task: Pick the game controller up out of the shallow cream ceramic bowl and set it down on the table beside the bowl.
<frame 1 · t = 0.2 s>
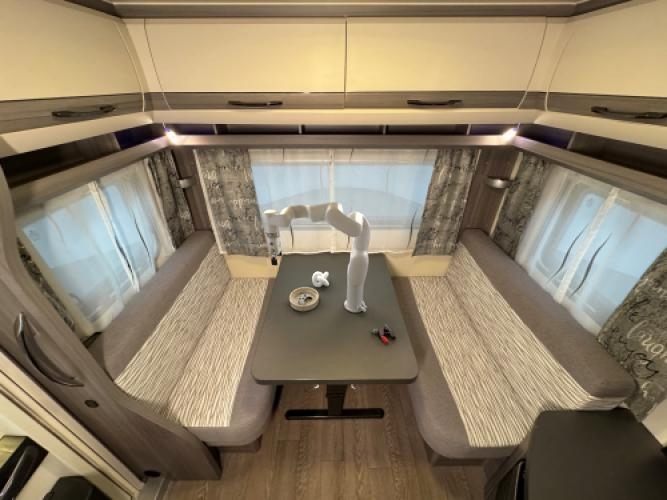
hand: (277, 260, 146), 31 cm above the table, tool pointing down, fingers open, 9 cm apart
game controller: (304, 301, 162), resting on bowl
toy gun: (383, 337, 137), on the table
bowl: (304, 301, 162), on the table
white knot sculpture: (322, 284, 177), on the table
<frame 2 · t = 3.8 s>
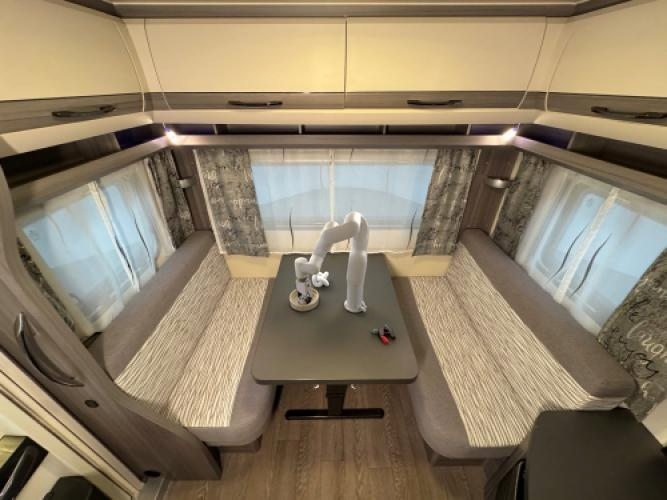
hand: (304, 300, 161), 1 cm above the table, tool pointing down, fingers closed on game controller, 7 cm apart
game controller: (304, 301, 162), resting on bowl, touching gripper
everything else where it was.
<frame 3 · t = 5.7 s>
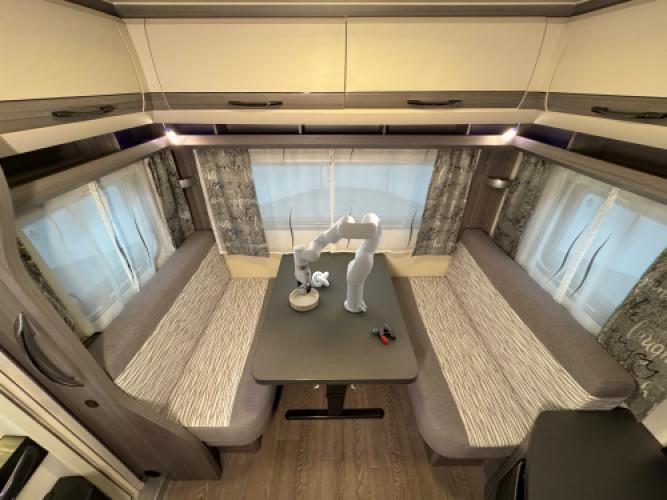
hand: (304, 289, 157), 10 cm above the table, tool pointing down, fingers closed on game controller, 7 cm apart
game controller: (304, 290, 157), point 9 cm above the table, touching gripper
everything else where it was.
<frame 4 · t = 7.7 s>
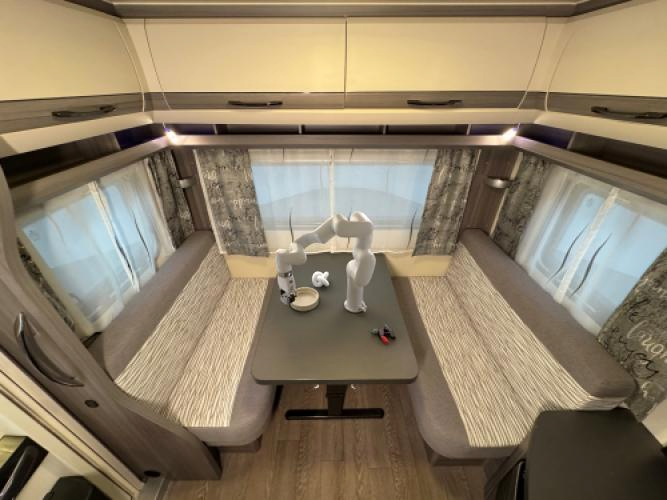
hand: (287, 298, 141), 16 cm above the table, tool pointing down, fingers closed on game controller, 7 cm apart
game controller: (288, 299, 141), point 15 cm above the table, touching gripper
everything else where it was.
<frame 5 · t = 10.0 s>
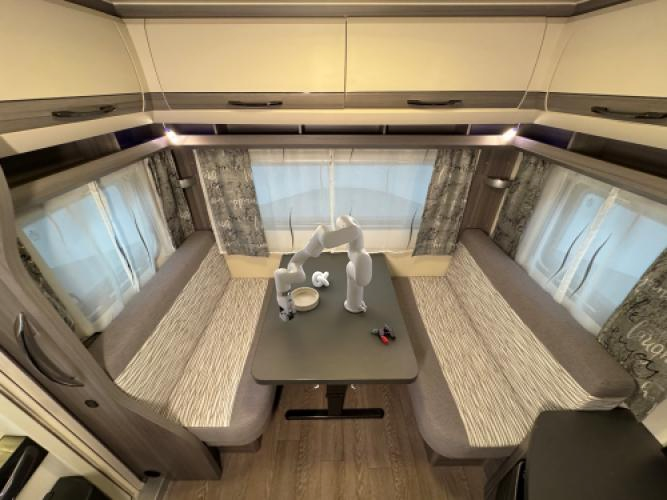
hand: (287, 315, 144), 6 cm above the table, tool pointing down, fingers closed on game controller, 7 cm apart
game controller: (287, 316, 144), point 5 cm above the table, touching gripper
everything else where it was.
when the fingers open (1 cm above the table, at t = 11.8 s): game controller stays where it is, on the table.
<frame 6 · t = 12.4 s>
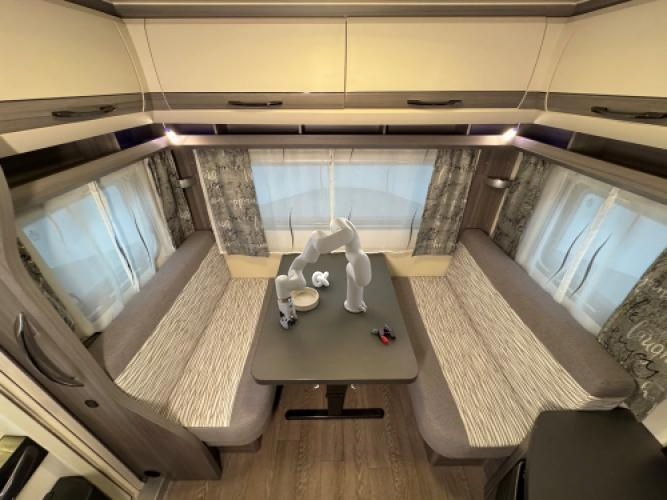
hand: (287, 320, 145), 2 cm above the table, tool pointing down, fingers open, 9 cm apart
game controller: (288, 322, 146), on the table
everything else where it was.
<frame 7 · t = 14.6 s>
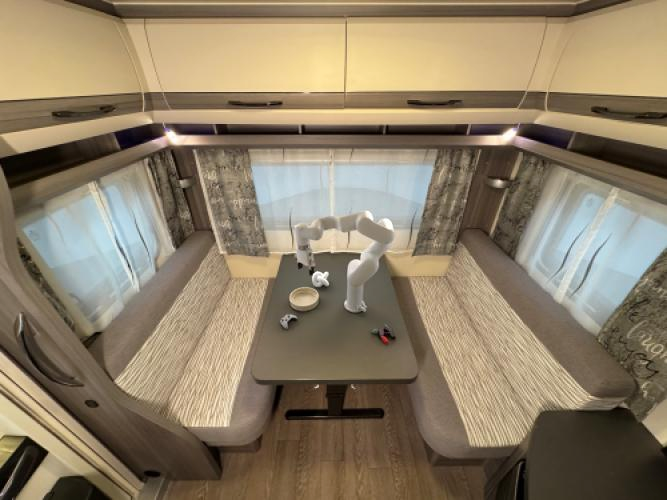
hand: (306, 271, 148), 24 cm above the table, tool pointing down, fingers open, 9 cm apart
nothing on the table moved.
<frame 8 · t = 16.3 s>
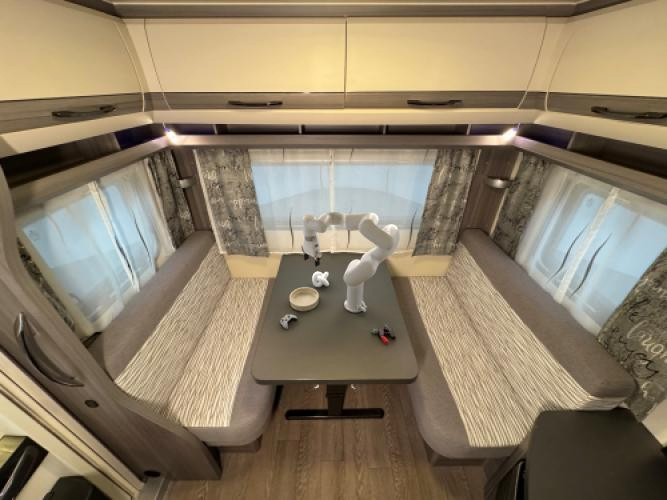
hand: (311, 262, 152), 26 cm above the table, tool pointing down, fingers open, 9 cm apart
nothing on the table moved.
at the end: game controller inside the target area (0.0 cm from its centre), on the table; game controller touching table; the gripper is holding nothing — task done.
